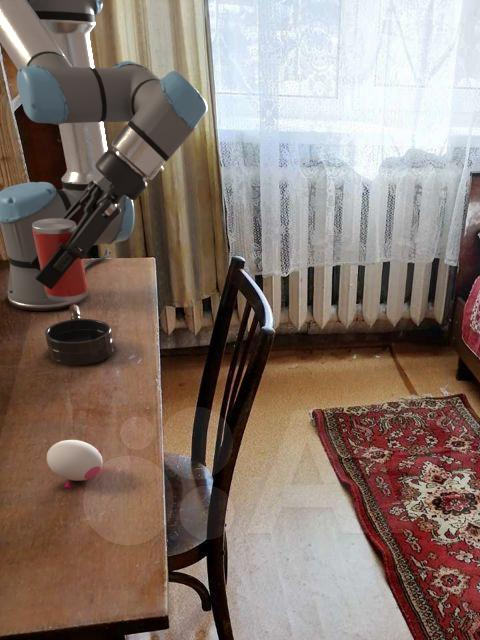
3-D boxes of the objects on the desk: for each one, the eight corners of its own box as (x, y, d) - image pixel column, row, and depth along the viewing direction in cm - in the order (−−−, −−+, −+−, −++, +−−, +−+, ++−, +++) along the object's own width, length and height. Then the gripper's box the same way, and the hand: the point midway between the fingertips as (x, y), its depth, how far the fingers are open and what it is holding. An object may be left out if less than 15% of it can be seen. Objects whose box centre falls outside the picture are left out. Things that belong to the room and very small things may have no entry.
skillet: (69, 337, 131) (65, 315, 129) (124, 344, 130) (120, 323, 128) (37, 361, 122) (32, 338, 119) (96, 369, 121) (91, 346, 118)
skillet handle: (83, 326, 129) (81, 317, 128) (72, 327, 128) (70, 318, 127) (80, 311, 135) (78, 302, 134) (69, 312, 134) (67, 303, 133)
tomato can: (59, 285, 114) (45, 216, 107) (95, 290, 113) (84, 220, 106) (38, 298, 108) (22, 226, 102) (76, 303, 108) (62, 231, 101)
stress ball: (111, 492, 97) (120, 447, 97) (83, 493, 89) (93, 444, 89) (63, 481, 98) (72, 437, 97) (31, 481, 90) (40, 433, 89)
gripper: (163, 197, 100) (69, 311, 103) (135, 169, 114) (53, 271, 117) (123, 159, 95) (25, 281, 98) (98, 135, 109) (13, 243, 112)
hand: (40, 276), depth 107 cm, fingers closed on tomato can, 7 cm apart
